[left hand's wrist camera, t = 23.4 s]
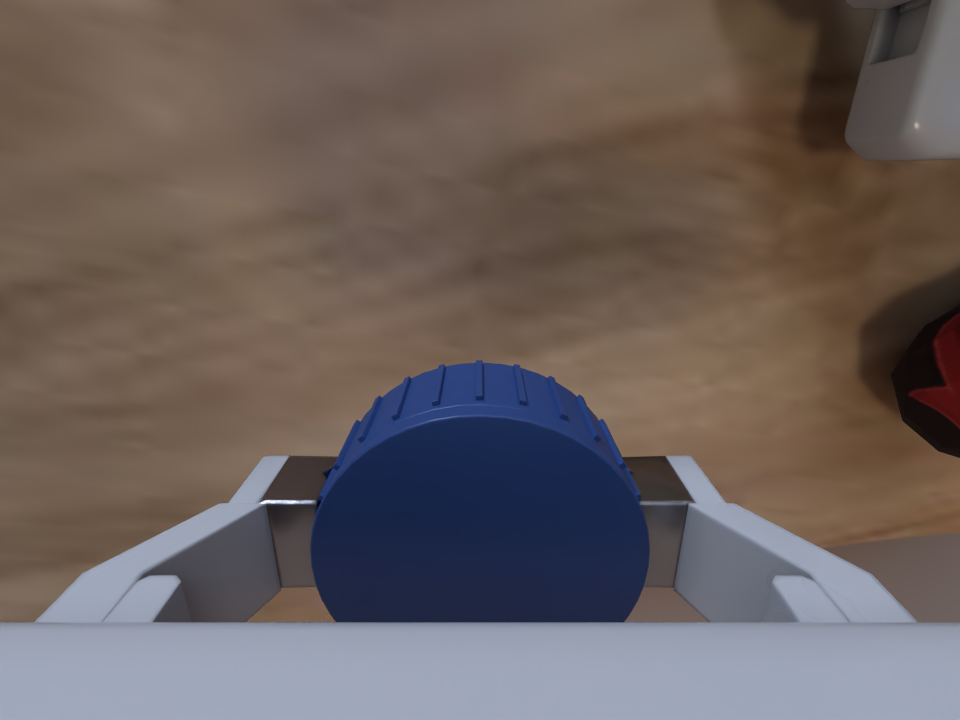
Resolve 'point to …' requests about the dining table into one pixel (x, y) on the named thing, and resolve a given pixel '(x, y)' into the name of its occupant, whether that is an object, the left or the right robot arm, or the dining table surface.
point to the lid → (480, 507)
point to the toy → (932, 383)
